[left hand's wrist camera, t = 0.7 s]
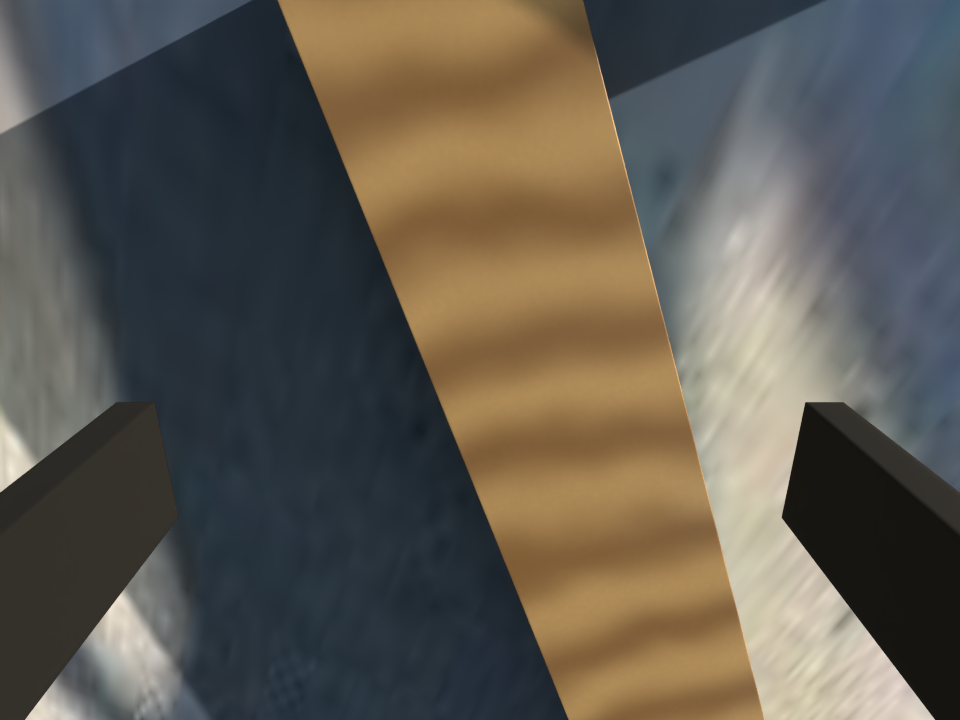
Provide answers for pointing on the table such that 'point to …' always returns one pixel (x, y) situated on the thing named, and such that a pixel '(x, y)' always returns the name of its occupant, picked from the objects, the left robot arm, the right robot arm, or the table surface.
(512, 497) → the wide beam
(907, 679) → the left robot arm
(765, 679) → the table surface
